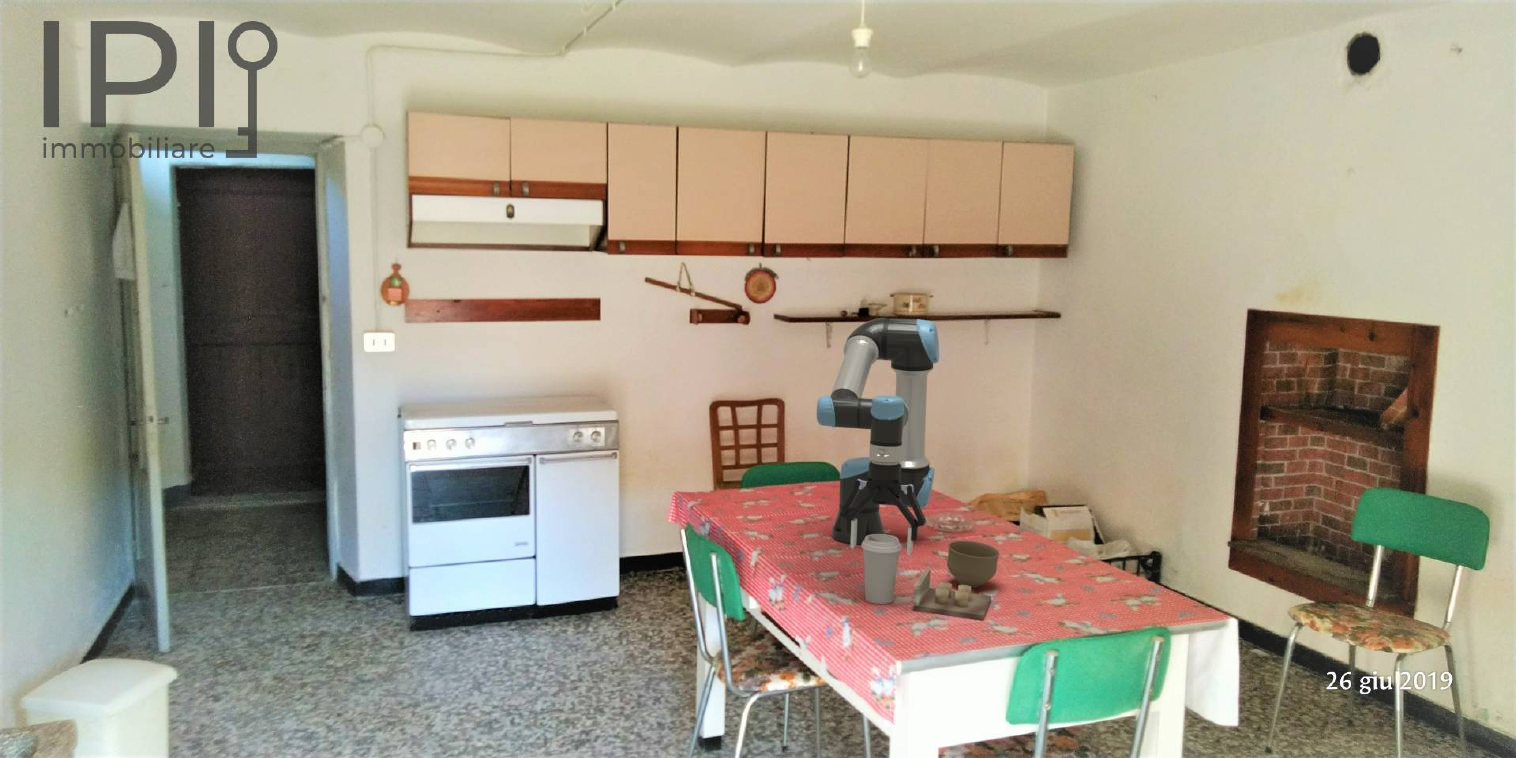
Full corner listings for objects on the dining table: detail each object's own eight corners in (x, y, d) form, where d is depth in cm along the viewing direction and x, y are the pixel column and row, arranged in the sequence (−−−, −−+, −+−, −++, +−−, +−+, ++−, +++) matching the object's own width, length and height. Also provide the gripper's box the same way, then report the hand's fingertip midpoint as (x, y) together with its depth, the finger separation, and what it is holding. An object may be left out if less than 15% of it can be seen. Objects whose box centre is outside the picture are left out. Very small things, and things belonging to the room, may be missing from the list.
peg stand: (913, 610, 235) (914, 585, 234) (924, 592, 248) (925, 568, 248) (983, 620, 230) (984, 594, 229) (990, 601, 243) (992, 576, 242)
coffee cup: (855, 592, 246) (858, 532, 244) (894, 592, 247) (897, 533, 245) (863, 606, 237) (865, 544, 235) (903, 606, 238) (906, 544, 236)
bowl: (987, 597, 246) (989, 557, 244) (938, 587, 252) (940, 548, 251) (1004, 583, 256) (1006, 545, 255) (956, 574, 263) (958, 536, 262)
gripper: (829, 459, 238) (826, 547, 241) (935, 469, 230) (930, 560, 232) (838, 454, 245) (834, 539, 248) (940, 464, 237) (936, 552, 239)
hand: (881, 550), depth 240 cm, fingers open, 13 cm apart
